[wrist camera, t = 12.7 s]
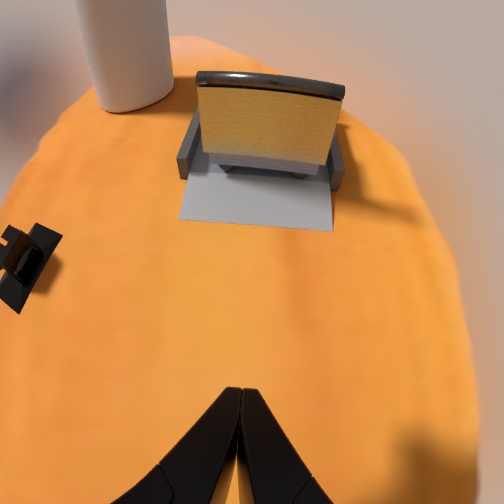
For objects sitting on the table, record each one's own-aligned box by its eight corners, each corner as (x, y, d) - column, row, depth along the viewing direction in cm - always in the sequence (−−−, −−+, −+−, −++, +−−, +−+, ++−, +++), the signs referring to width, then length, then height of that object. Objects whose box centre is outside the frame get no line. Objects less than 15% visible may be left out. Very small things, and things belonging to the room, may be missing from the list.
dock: (340, 238, 26) (356, 204, 22) (170, 225, 26) (158, 189, 22) (322, 125, 36) (329, 95, 32) (205, 116, 36) (203, 85, 32)
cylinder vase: (118, 82, 41) (97, -36, 20) (182, 75, 42) (173, -55, 20) (88, 119, 35) (50, -24, 14) (162, 111, 35) (142, -56, 14)
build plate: (42, 213, 27) (24, 186, 23) (81, 229, 26) (62, 199, 22) (-12, 302, 20) (-38, 283, 16) (22, 334, 19) (-9, 316, 15)
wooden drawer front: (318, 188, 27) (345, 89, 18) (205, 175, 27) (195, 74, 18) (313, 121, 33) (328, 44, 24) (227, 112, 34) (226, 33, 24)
